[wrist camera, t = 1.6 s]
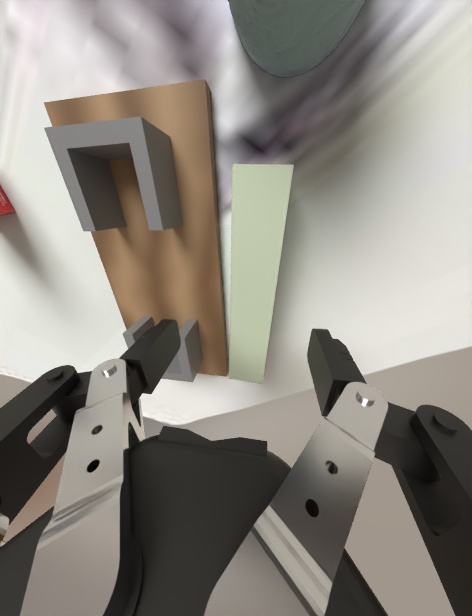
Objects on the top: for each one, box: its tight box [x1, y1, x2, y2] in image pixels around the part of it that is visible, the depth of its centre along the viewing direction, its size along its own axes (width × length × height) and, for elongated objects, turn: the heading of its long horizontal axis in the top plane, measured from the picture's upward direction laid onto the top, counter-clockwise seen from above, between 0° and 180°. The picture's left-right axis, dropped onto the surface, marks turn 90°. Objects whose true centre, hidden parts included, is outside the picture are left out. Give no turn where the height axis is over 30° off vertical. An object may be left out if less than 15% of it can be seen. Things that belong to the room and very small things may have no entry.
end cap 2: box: [123, 316, 203, 382], centre depth 24 cm, size 7×7×4 cm
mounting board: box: [44, 80, 228, 376], centre depth 22 cm, size 14×30×1 cm, turn 2°
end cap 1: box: [44, 117, 183, 231], centre depth 16 cm, size 7×7×4 cm
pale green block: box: [229, 164, 294, 384], centre depth 18 cm, size 4×18×7 cm, turn 178°
